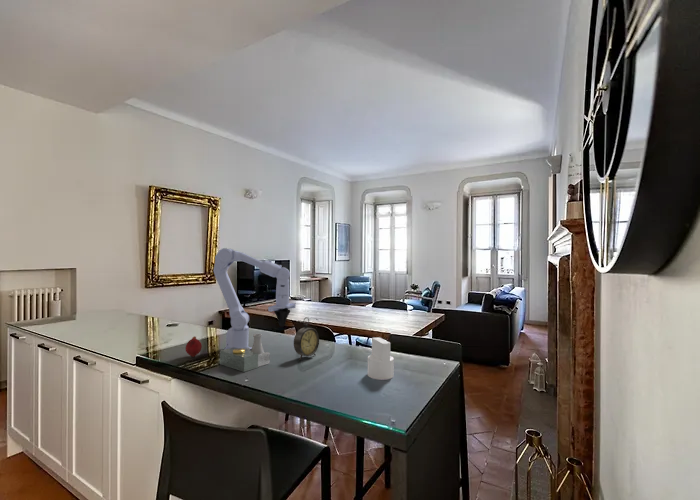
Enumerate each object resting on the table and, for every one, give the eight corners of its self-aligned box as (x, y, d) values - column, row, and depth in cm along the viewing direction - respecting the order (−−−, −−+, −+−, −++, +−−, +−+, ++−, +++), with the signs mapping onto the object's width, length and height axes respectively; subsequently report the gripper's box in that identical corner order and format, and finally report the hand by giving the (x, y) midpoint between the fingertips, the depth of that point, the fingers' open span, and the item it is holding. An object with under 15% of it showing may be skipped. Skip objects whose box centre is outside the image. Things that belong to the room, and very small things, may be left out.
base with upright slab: (363, 372, 120) (364, 338, 121) (386, 369, 124) (386, 336, 124) (374, 381, 112) (374, 344, 112) (398, 378, 115) (398, 342, 116)
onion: (197, 359, 131) (197, 338, 132) (182, 358, 132) (183, 338, 132) (203, 354, 137) (204, 335, 137) (189, 354, 137) (190, 334, 138)
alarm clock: (300, 362, 130) (301, 319, 131) (290, 359, 134) (291, 318, 134) (319, 356, 139) (320, 316, 140) (310, 353, 142) (311, 314, 143)
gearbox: (219, 364, 126) (220, 348, 126) (246, 356, 136) (246, 342, 136) (244, 371, 118) (244, 355, 118) (270, 363, 128) (270, 348, 128)
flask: (269, 358, 135) (269, 333, 135) (262, 364, 127) (262, 337, 128) (251, 357, 136) (252, 332, 136) (243, 362, 128) (244, 336, 129)
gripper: (276, 297, 141) (275, 330, 141) (300, 294, 153) (300, 324, 153) (265, 295, 145) (264, 327, 145) (289, 293, 157) (288, 322, 157)
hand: (281, 326), depth 149 cm, fingers closed
